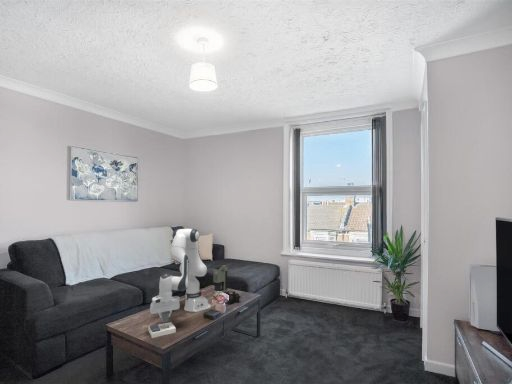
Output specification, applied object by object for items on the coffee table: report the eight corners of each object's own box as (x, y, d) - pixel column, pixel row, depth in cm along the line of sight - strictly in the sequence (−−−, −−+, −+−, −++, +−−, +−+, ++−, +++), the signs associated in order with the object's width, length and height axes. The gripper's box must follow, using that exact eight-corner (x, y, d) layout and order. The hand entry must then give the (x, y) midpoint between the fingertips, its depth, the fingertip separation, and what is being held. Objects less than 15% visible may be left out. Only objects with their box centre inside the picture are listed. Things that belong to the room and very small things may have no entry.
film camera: (219, 304, 258) (219, 293, 259) (222, 299, 271) (223, 289, 271) (239, 305, 256) (239, 294, 256) (241, 300, 268) (241, 290, 269)
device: (218, 298, 275) (218, 266, 276) (212, 296, 279) (212, 265, 280) (227, 294, 286) (228, 263, 287) (222, 292, 291) (222, 262, 291)
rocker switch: (167, 319, 208) (167, 310, 208) (168, 321, 204) (168, 312, 204) (161, 320, 206) (161, 311, 206) (162, 322, 202) (162, 313, 202)
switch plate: (171, 326, 213) (171, 320, 213) (175, 332, 203) (175, 326, 203) (148, 331, 205) (148, 325, 205) (151, 338, 194) (152, 332, 194)
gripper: (178, 294, 213) (178, 313, 213) (149, 298, 203) (149, 318, 202) (181, 296, 208) (180, 316, 208) (151, 301, 197) (151, 321, 197)
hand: (164, 317), depth 205 cm, fingers closed on rocker switch, 4 cm apart
